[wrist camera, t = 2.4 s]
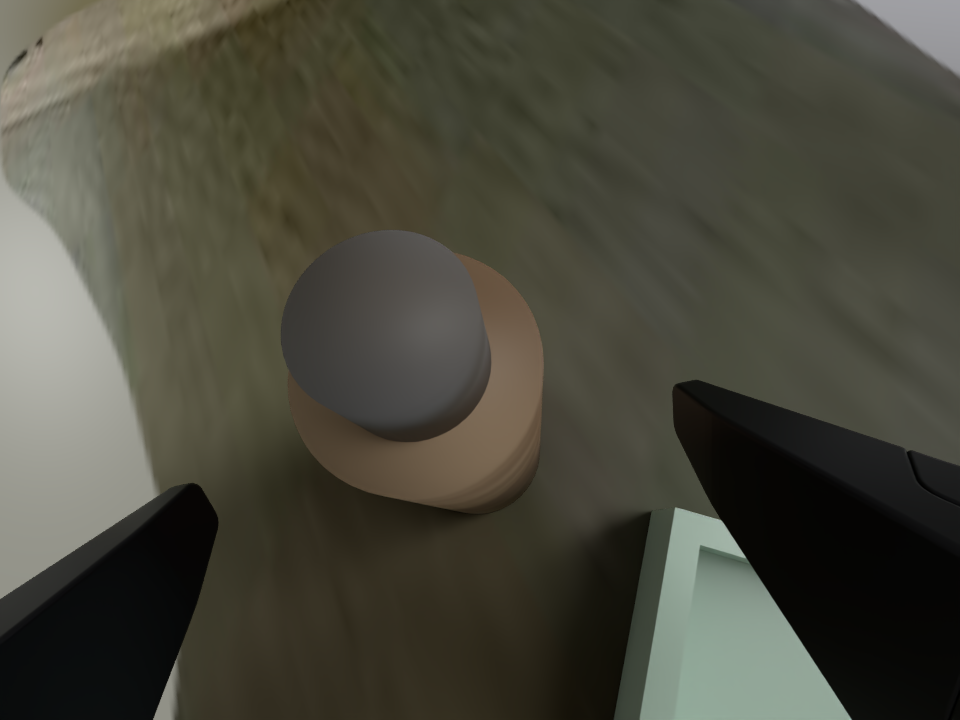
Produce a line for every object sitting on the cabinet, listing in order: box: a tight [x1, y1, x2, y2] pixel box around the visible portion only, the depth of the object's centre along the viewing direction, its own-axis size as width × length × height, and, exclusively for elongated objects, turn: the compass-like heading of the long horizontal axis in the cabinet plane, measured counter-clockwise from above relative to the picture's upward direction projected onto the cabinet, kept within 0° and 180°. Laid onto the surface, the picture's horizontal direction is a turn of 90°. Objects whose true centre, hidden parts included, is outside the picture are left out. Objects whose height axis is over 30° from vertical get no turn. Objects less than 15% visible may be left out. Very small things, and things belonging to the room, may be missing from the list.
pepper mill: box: [281, 230, 544, 514], centre depth 12 cm, size 5×5×12 cm
